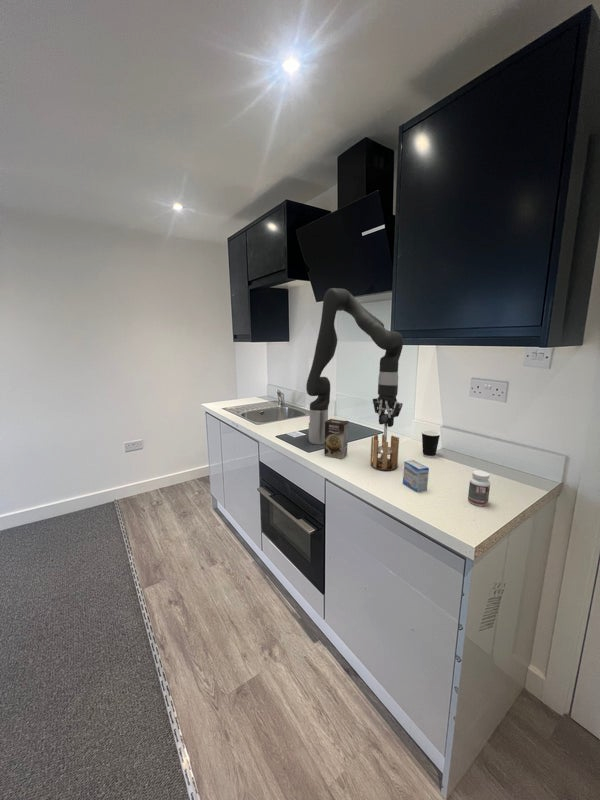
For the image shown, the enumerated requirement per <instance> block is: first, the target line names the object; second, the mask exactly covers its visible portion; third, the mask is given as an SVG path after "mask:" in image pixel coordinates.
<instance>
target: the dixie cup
mask: <svg viewBox="0 0 600 800" xmlns="http://www.w3.org/2000/svg"><path fill="white" fill-rule="evenodd" d="M441 435H442V434H441V432H439V431H436V430H432V429H431V430H430V429H425V430H422V431H421V436H422V437H421V438H422V439H421V441H422V444H421V445H422V455H423V457H424V458H427V459H428V458H429V459H434V458H435V457H436V454H437V450H438V446H439V440H440V436H441Z"/></svg>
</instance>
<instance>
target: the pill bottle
mask: <svg viewBox="0 0 600 800" xmlns="http://www.w3.org/2000/svg"><path fill="white" fill-rule="evenodd" d="M471 474H472V477H471V478H470V479H469V482H468V483H469V485H468V492H467V493H468V495H467V496H468V497H467V501H468V502H469V503H470V504H472V505H474V506H478V507H485V506H488V504H489V498H490V497H489V496H490V489H491V482H490V473H488V472H486V471H484V470H473V471H472V473H471Z"/></svg>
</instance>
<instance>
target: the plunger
mask: <svg viewBox="0 0 600 800" xmlns="http://www.w3.org/2000/svg"><path fill="white" fill-rule="evenodd" d="M388 418H389V417H388V413H385V414H382V415H381V423H384V424H383V434H384V440H383V442H388V441H387V440H388V437H387V436H388ZM381 454H383V446H382V445H378V455H381ZM391 454H392V448H391V446H388V455H387V456H390V455H391Z"/></svg>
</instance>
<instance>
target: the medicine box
mask: <svg viewBox="0 0 600 800" xmlns="http://www.w3.org/2000/svg"><path fill="white" fill-rule="evenodd" d="M429 471H430V468H429V467H428V466H426V465H424V464H422V463H420V462H418V461H416V460H415V459H409V460H408V459H407V460H405V461H404V462H403V475H402V484H403V485H405V486H406V487H408V488H410V489H411V490H413V491H414V492H416V493H421V492H422V493H423V492H426V491H428V484H429V473H430V472H429Z"/></svg>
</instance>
